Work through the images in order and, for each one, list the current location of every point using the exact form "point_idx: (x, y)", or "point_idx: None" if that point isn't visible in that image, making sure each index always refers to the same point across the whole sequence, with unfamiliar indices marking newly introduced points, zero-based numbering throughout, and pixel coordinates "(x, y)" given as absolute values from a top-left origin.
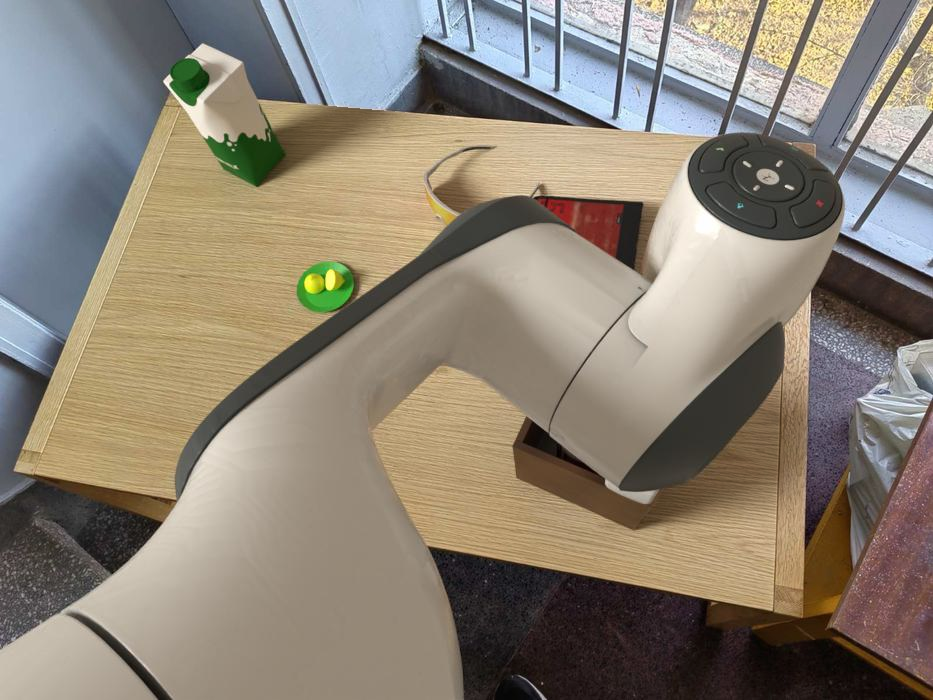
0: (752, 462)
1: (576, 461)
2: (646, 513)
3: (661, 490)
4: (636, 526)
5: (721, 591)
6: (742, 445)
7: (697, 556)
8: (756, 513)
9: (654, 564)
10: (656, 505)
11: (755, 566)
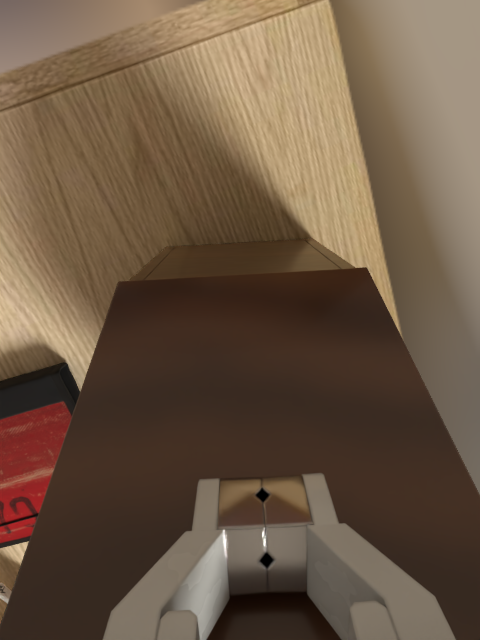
0: (131, 114)
1: None
2: (344, 260)
3: (333, 272)
4: (319, 243)
5: (343, 84)
6: (114, 139)
7: (309, 139)
8: (205, 77)
9: (345, 192)
10: (365, 268)
11: (285, 47)
